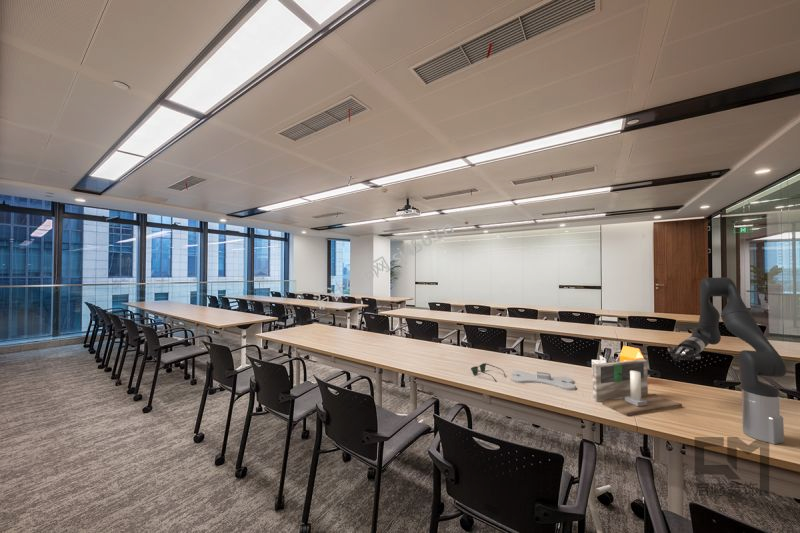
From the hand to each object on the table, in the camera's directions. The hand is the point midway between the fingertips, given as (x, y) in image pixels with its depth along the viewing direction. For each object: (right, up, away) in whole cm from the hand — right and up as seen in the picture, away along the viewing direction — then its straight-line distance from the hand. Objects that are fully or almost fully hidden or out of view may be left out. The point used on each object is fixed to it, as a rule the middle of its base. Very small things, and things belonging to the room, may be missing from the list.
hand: (674, 359), depth 141 cm
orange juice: (+4, -23, +31) cm, 39 cm away
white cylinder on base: (-22, -20, 0) cm, 30 cm away
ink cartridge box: (-16, -23, +30) cm, 41 cm away
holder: (-50, -24, +32) cm, 64 cm away
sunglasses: (-79, -24, +40) cm, 91 cm away
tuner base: (-18, -22, +1) cm, 29 cm away
